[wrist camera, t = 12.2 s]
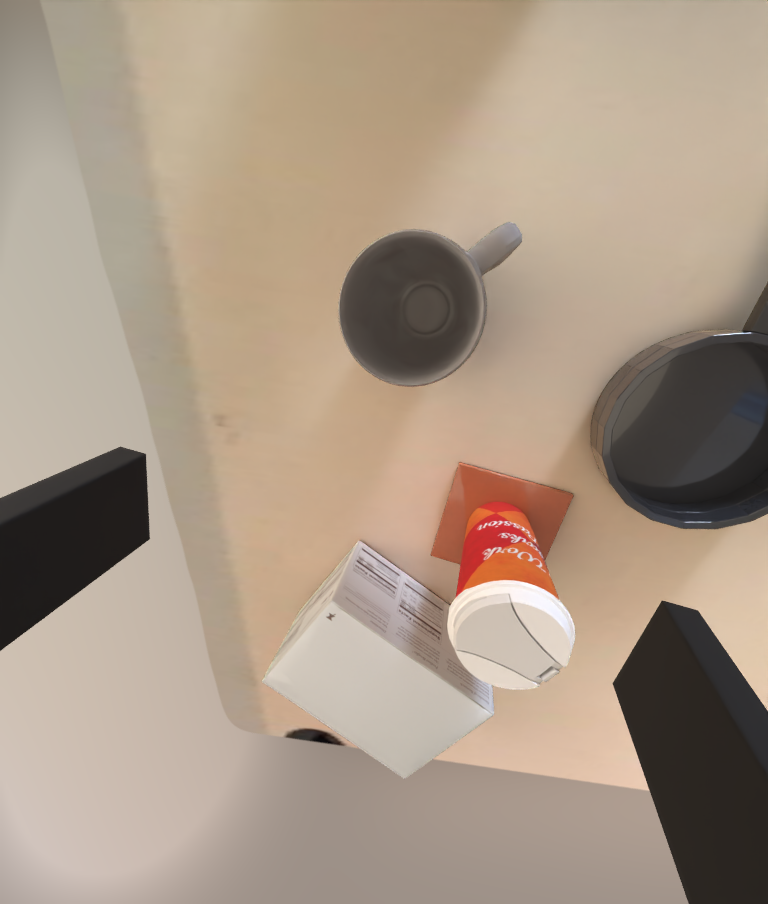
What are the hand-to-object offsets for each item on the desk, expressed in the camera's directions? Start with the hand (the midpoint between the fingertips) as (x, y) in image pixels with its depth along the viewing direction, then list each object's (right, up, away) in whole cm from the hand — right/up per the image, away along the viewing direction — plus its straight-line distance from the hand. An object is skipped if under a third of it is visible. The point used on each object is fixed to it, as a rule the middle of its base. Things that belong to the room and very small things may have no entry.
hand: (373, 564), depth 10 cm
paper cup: (+11, -4, +27) cm, 29 cm away
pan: (+24, +5, +21) cm, 32 cm away
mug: (+5, +15, +22) cm, 27 cm away
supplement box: (+1, -15, +34) cm, 37 cm away
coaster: (+11, -4, +27) cm, 30 cm away
